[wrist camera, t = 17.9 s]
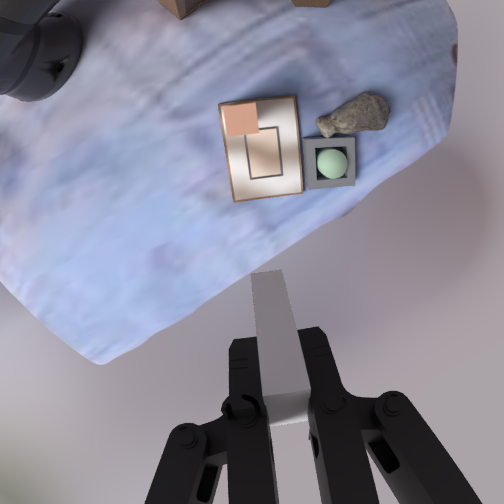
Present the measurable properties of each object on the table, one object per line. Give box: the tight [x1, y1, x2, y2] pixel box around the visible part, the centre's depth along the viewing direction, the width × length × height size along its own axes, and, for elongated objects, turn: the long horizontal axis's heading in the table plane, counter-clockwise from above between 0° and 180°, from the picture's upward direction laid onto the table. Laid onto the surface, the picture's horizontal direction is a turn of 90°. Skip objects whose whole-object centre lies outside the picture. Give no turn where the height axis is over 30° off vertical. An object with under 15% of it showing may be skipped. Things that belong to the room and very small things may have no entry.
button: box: [315, 147, 348, 179], centre depth 35 cm, size 4×4×3 cm
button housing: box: [302, 136, 355, 190], centre depth 35 cm, size 7×7×2 cm
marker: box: [223, 103, 259, 137], centre depth 27 cm, size 3×3×12 cm
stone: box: [316, 92, 390, 138], centre depth 31 cm, size 10×5×8 cm
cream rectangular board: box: [218, 96, 303, 202], centre depth 35 cm, size 14×10×1 cm
